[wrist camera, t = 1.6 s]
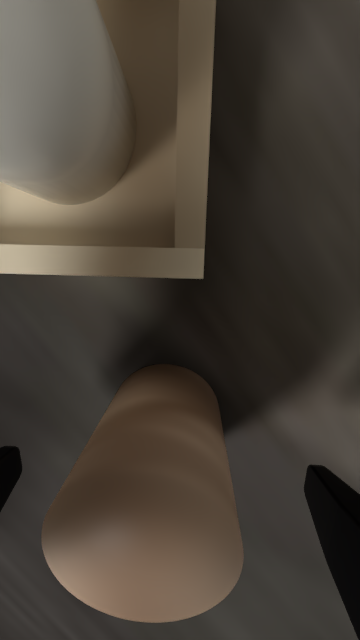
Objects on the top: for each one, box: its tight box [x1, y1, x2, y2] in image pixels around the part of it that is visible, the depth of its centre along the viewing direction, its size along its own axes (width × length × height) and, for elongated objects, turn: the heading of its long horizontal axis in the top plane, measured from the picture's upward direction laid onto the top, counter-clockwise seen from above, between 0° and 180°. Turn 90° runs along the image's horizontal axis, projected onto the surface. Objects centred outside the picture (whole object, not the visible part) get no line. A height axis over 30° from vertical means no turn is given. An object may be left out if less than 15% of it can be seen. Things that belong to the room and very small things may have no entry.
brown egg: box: [41, 364, 244, 623], centre depth 8 cm, size 4×4×5 cm
